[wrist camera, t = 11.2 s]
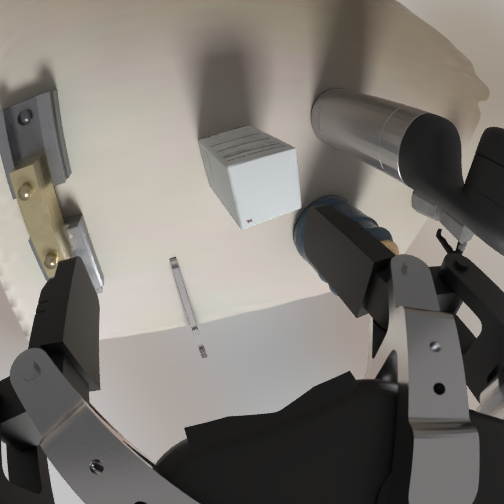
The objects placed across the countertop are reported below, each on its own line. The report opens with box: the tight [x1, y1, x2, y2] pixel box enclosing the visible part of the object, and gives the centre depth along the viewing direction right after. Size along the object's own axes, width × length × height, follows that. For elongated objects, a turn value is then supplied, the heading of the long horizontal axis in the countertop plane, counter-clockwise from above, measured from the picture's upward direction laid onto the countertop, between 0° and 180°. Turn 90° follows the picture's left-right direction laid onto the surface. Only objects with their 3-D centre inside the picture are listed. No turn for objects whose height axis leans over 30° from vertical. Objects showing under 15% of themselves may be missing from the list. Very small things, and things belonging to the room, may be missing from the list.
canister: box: [293, 196, 399, 296], centre depth 45 cm, size 13×13×18 cm
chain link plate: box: [9, 152, 74, 278], centre depth 27 cm, size 3×14×6 cm, turn 0°
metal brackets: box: [0, 90, 104, 293], centre depth 30 cm, size 8×28×4 cm, turn 0°
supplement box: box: [198, 125, 301, 230], centre depth 33 cm, size 7×7×13 cm
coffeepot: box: [412, 190, 474, 255], centre depth 53 cm, size 15×9×18 cm, turn 173°
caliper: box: [170, 258, 207, 358], centre depth 48 cm, size 20×1×6 cm, turn 4°
